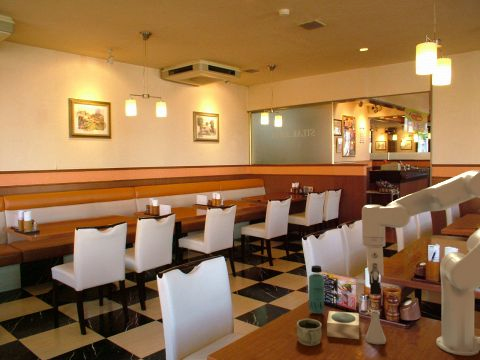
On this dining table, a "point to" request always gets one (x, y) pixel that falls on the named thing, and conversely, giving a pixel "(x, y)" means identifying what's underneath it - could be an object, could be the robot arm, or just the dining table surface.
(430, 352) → the dining table surface
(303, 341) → the vessel
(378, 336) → the flask
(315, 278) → the beverage bottle
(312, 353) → the dining table surface
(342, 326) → the pedestal
